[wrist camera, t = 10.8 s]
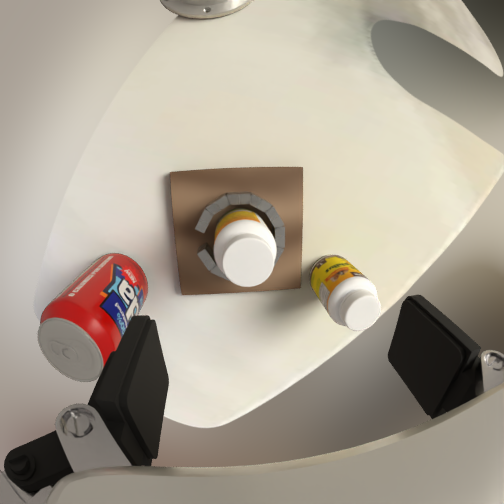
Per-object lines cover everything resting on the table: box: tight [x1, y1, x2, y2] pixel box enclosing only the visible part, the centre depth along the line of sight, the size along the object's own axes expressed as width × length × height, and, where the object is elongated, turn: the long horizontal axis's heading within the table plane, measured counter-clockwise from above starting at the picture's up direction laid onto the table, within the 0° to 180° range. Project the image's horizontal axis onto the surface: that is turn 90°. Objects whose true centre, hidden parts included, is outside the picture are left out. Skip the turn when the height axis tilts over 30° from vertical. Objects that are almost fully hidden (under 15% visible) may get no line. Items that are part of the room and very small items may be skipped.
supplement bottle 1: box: [214, 208, 277, 287], centre depth 26 cm, size 5×5×10 cm
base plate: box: [170, 167, 303, 295], centre depth 31 cm, size 14×14×1 cm
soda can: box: [38, 253, 148, 382], centre depth 25 cm, size 8×8×15 cm
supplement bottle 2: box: [310, 255, 381, 331], centre depth 29 cm, size 6×6×10 cm
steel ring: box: [195, 191, 285, 281], centre depth 29 cm, size 9×9×2 cm
